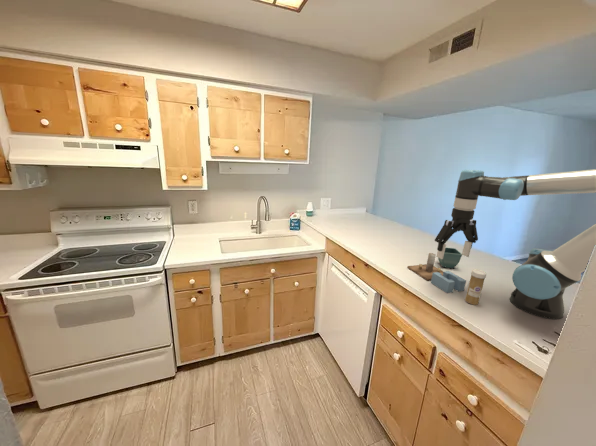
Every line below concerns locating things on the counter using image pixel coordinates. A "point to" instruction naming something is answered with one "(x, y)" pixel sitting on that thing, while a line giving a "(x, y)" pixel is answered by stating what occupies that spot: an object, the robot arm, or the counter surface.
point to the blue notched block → (448, 281)
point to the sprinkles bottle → (475, 286)
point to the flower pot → (450, 258)
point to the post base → (422, 272)
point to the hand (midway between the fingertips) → (452, 256)
